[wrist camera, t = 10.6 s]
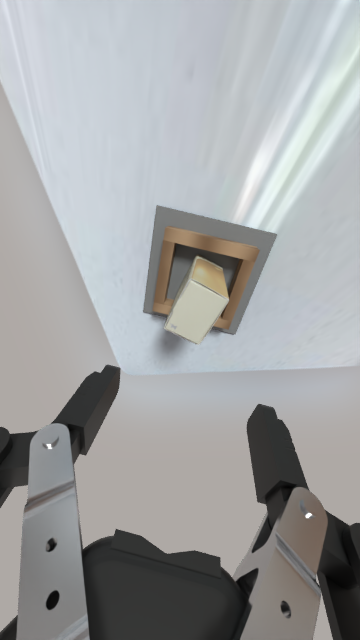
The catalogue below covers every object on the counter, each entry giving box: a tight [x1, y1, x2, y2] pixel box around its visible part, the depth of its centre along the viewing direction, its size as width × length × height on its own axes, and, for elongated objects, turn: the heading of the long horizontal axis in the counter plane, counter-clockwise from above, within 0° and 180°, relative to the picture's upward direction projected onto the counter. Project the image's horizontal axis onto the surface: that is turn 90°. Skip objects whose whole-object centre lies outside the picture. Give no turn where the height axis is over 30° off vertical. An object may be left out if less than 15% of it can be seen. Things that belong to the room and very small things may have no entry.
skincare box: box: [164, 254, 229, 345], centre depth 25 cm, size 6×4×12 cm
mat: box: [143, 206, 277, 334], centre depth 30 cm, size 16×16×1 cm
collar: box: [153, 226, 260, 330], centre depth 29 cm, size 12×12×2 cm
